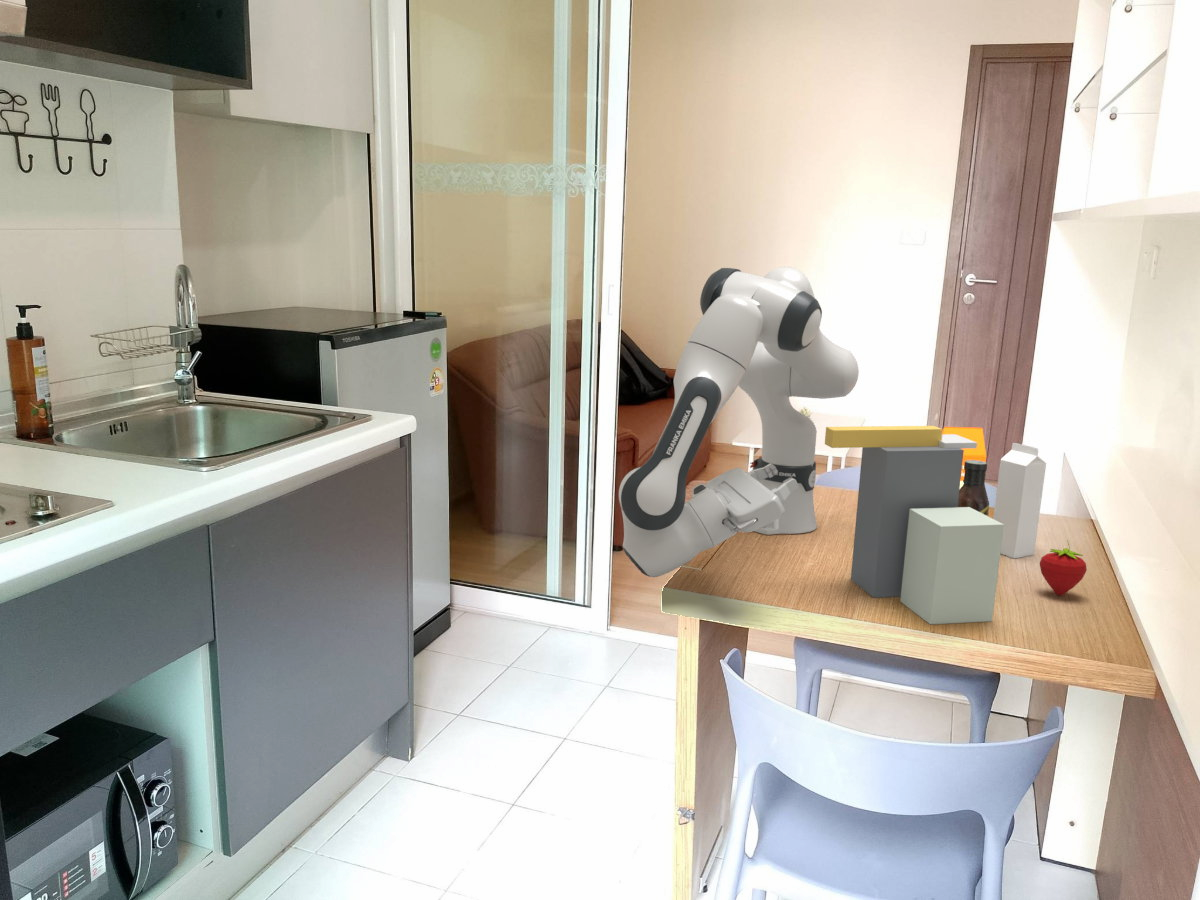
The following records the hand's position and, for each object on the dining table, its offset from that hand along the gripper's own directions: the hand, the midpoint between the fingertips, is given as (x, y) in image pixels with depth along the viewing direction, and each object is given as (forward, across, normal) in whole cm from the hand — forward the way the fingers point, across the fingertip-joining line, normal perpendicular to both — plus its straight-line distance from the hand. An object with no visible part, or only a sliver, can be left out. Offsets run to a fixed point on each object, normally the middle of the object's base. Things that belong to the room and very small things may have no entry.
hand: (785, 474), depth 162 cm
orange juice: (+40, +43, +48) cm, 76 cm away
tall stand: (+9, 0, +30) cm, 31 cm away
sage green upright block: (+11, -12, +31) cm, 35 cm away
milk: (+37, +16, +46) cm, 62 cm away
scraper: (+20, 0, +6) cm, 21 cm away
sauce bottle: (+26, +11, +40) cm, 49 cm away
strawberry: (+32, -7, +44) cm, 55 cm away
